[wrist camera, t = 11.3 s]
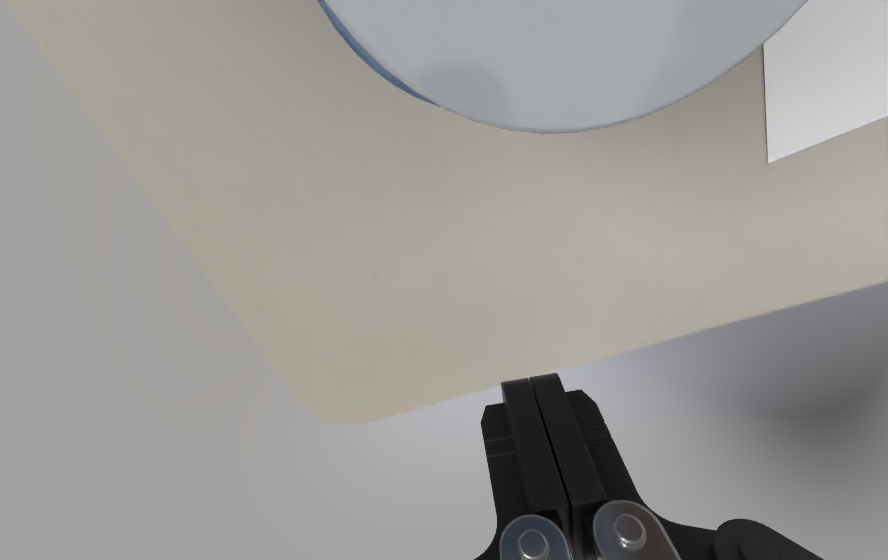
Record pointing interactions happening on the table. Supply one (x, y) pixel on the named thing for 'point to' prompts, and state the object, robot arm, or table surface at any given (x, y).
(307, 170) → the table surface
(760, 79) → the table surface
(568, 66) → the blue cylinder
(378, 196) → the table surface
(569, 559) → the robot arm
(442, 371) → the table surface
